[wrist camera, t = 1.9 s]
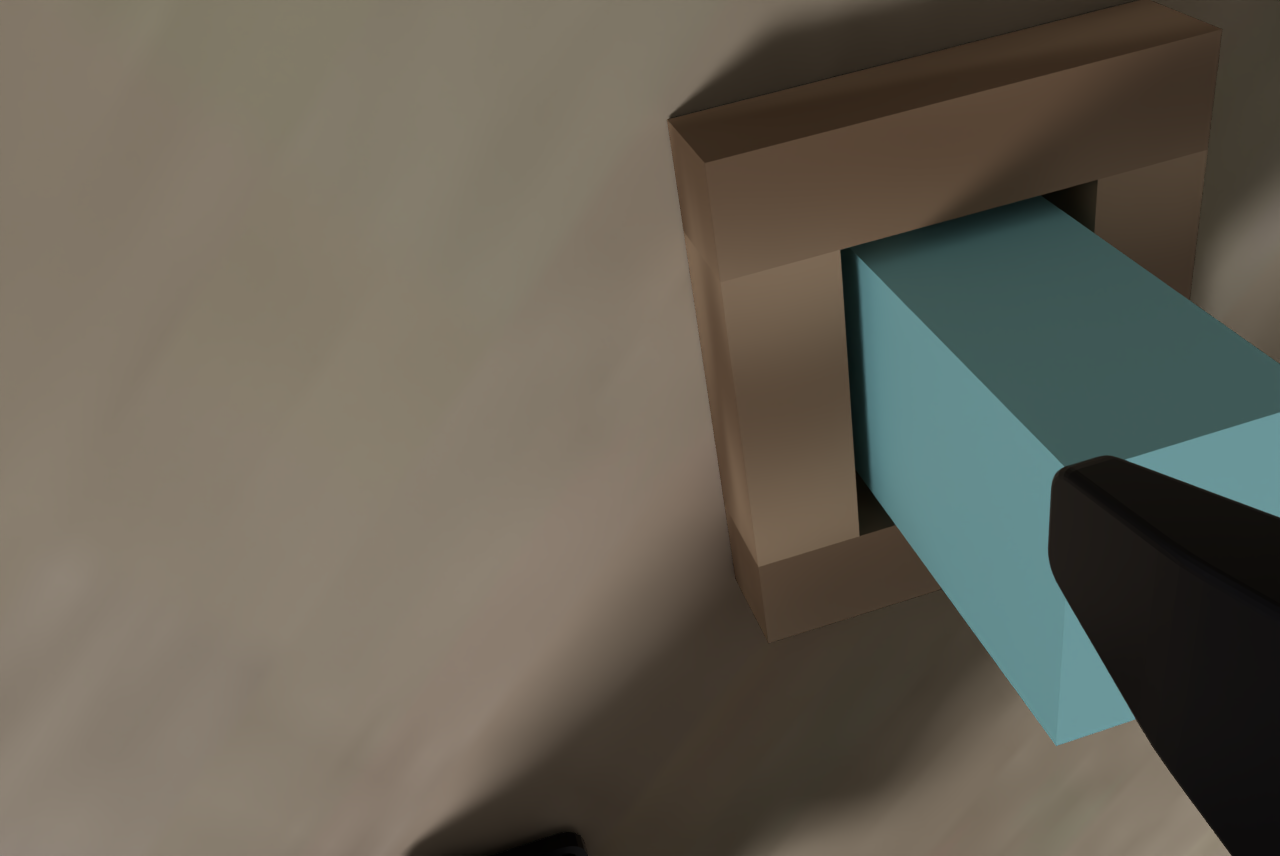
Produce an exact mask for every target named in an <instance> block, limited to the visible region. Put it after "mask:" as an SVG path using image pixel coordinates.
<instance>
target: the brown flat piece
mask: <svg viewBox="0 0 1280 856" xmlns="http://www.w3.org/2000/svg"><path fill="white" fill-rule="evenodd" d="M1221 36H1222V29H1220V28H1218V27H1215V26H1213V25H1210V24H1208V23H1205V22H1203V21H1200V20H1198V19H1196V18H1193V17H1191V16H1188V15H1186V14H1183V13H1181V12H1178V11H1176V10H1173V9H1171V8H1168V7H1166V6H1163V5H1161V4H1158V3H1156V2H1153V1H1151V0H1138V1H1134V2H1130V3H1126V4H1122V5H1118V6H1114V7H1110V8H1106V9H1102V10H1098V11H1094V12H1090V13H1086V14H1082V15H1078V16H1075V17H1071V18H1067V19H1063V20H1059V21H1055V22H1051V23H1047V24H1043V25H1039V26H1035V27H1031V28H1027V29H1023V30H1019V31H1015V32H1011V33H1007V34H1003V35H999V36H995V37H991V38H987V39H984V40H980V41H976V42H972V43H968V44H964V45H960V46H956V47H952V48H948V49H944V50H940V51H936V52H932V53H928V54H924V55H920V56H916V57H912V58H908V59H904V60H900V61H897V62H893V63H889V64H885V65H881V66H877V67H873V68H869V69H865V70H861V71H857V72H853V73H849V74H845V75H841V76H837V77H833V78H829V79H825V80H821V81H817V82H813V83H809V84H806V85H802V86H798V87H794V88H790V89H786V90H782V91H778V92H774V93H770V94H766V95H762V96H758V97H754V98H750V99H746V100H742V101H738V102H734V103H730V104H726V105H722V106H719V107H715V108H711V109H707V110H703V111H699V112H695V113H691V114H687V115H683V116H679V117H675V118H671V119H667V122H668V129H669V135H670V142H671V149H672V156H673V162H674V169H675V176H676V182H677V189H678V196H679V203H680V209H681V216H682V223H683V229H684V236H685V243H686V250H687V256H688V263H689V270H690V277H691V283H692V290H693V297H694V303H695V310H696V317H697V324H698V330H699V337H700V344H701V350H702V357H703V364H704V371H705V377H706V384H707V391H708V398H709V404H710V411H711V418H712V424H713V431H714V438H715V445H716V451H717V458H718V465H719V471H720V478H721V485H722V492H723V498H724V505H725V512H726V519H727V525H728V532H729V539H730V545H731V552H732V559H733V566H734V572H735V579H736V581H737V583H738V585H739V587H740V589H741V591H742V593H743V594H744V596H745V598H746V600H747V602H748V604H749V606H750V608H751V610H752V612H753V614H754V616H755V618H756V620H757V622H758V624H759V626H760V628H761V630H762V631H763V633H764V635H765V637H766V639H767V641H768V643H772V642H775V641H778V640H782V639H785V638H788V637H791V636H794V635H797V634H801V633H804V632H807V631H810V630H813V629H817V628H820V627H823V626H826V625H829V624H833V623H836V622H839V621H842V620H845V619H848V618H852V617H855V616H858V615H861V614H864V613H868V612H871V611H874V610H877V609H880V608H884V607H887V606H890V605H893V604H896V603H899V602H903V601H906V600H909V599H912V598H915V597H919V596H922V595H925V594H928V593H931V592H934V591H938V590H941V589H942V588H941V587H940V585H939V584H938V583H937V581H936V580H935V578H934V577H933V576H932V574H931V573H930V572H929V570H928V569H927V567H926V566H925V565H924V563H923V562H922V560H921V559H920V558H919V556H918V555H917V554H916V552H915V551H914V549H913V548H912V547H911V545H910V544H909V543H908V541H907V540H906V538H905V537H904V536H903V534H902V533H901V532H900V530H899V529H898V527H897V526H896V525H895V523H894V522H893V521H892V519H891V518H890V516H889V515H888V514H887V512H886V511H885V510H884V508H883V507H882V505H881V504H880V503H879V501H878V500H877V499H876V497H875V496H874V494H873V493H872V492H871V490H870V489H869V488H868V486H867V485H866V483H865V482H864V481H863V479H862V478H861V477H860V475H859V474H858V472H857V471H856V470H855V461H854V446H853V432H852V417H851V402H850V387H849V372H848V358H847V343H846V328H845V313H844V298H843V284H842V269H841V254H840V250H841V249H845V248H849V247H852V246H856V245H860V244H863V243H867V242H871V241H874V240H878V239H882V238H885V237H889V236H893V235H896V234H900V233H904V232H907V231H911V230H915V229H918V228H922V227H926V226H930V225H933V224H937V223H941V222H944V221H948V220H952V219H955V218H959V217H963V216H966V215H970V214H974V213H977V212H981V211H985V210H988V209H992V208H996V207H999V206H1003V205H1007V204H1010V203H1014V202H1018V201H1021V200H1025V199H1029V198H1032V197H1036V196H1040V195H1041V196H1042V197H1044V198H1045V199H1047V200H1048V201H1049V202H1051V203H1052V204H1054V205H1055V206H1056V207H1058V208H1059V209H1061V210H1062V211H1064V212H1065V213H1066V214H1068V215H1069V216H1071V217H1072V218H1073V219H1075V220H1076V221H1078V222H1079V223H1081V224H1082V225H1083V226H1085V227H1086V228H1088V229H1089V230H1090V231H1092V232H1093V233H1095V234H1096V235H1098V236H1099V237H1100V238H1102V239H1103V240H1105V241H1106V242H1107V243H1109V244H1110V245H1112V246H1113V247H1115V248H1116V249H1117V250H1119V251H1120V252H1122V253H1123V254H1124V255H1126V256H1127V257H1129V258H1130V259H1132V260H1133V261H1134V262H1136V263H1137V264H1139V265H1140V266H1141V267H1143V268H1144V269H1146V270H1147V271H1149V272H1150V273H1151V274H1153V275H1154V276H1156V277H1157V278H1158V279H1160V280H1161V281H1163V282H1164V283H1166V284H1167V285H1168V286H1170V287H1171V288H1173V289H1174V290H1175V291H1177V292H1178V293H1180V294H1181V295H1183V296H1184V297H1185V298H1187V299H1188V300H1190V294H1191V285H1192V277H1193V269H1194V261H1195V252H1196V244H1197V236H1198V227H1199V219H1200V211H1201V202H1202V194H1203V186H1204V177H1205V169H1206V161H1207V152H1208V144H1209V136H1210V127H1211V119H1212V111H1213V103H1214V94H1215V86H1216V78H1217V69H1218V61H1219V53H1220V44H1221Z"/></svg>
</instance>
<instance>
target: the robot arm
mask: <svg viewBox="0 0 1280 856" xmlns="http://www.w3.org/2000/svg"><path fill="white" fill-rule="evenodd" d="M1048 558H1049V564H1050V567H1051V571H1052V573H1053V576H1054V578H1055V581H1056V582H1057V584H1058V586H1059V588H1060V590H1061V591H1062V593H1063V595H1064V597H1065V598H1066V600H1067V602H1068V603H1069V605H1070V607H1071V609H1072V610H1073V612H1074V614H1075V616H1076V617H1077V619H1078V621H1079V622H1080V624H1081V626H1082V628H1083V629H1084V631H1085V633H1086V634H1087V636H1088V638H1089V640H1090V641H1091V643H1092V645H1093V647H1094V648H1095V650H1096V652H1097V653H1098V655H1099V657H1100V659H1101V660H1102V662H1103V664H1104V665H1105V667H1106V669H1107V671H1108V672H1109V674H1110V676H1111V678H1112V679H1113V681H1114V683H1115V684H1116V686H1117V688H1118V690H1119V691H1120V693H1121V695H1122V696H1123V698H1124V700H1125V702H1126V703H1127V705H1128V707H1129V709H1130V710H1131V712H1132V714H1133V715H1134V717H1135V719H1136V721H1137V722H1138V724H1139V726H1140V727H1141V729H1142V730H1143V732H1144V734H1145V735H1146V737H1147V738H1148V740H1149V742H1150V743H1151V745H1152V747H1153V748H1154V750H1155V751H1156V753H1157V754H1158V755H1159V757H1160V758H1161V760H1162V761H1163V763H1164V764H1165V765H1166V767H1167V768H1168V770H1169V771H1170V773H1171V774H1172V775H1173V777H1174V778H1175V780H1176V781H1177V782H1178V784H1179V785H1180V786H1181V788H1182V789H1183V790H1184V792H1185V793H1186V795H1187V796H1188V797H1189V799H1190V800H1191V801H1192V803H1193V804H1194V805H1195V807H1196V808H1197V809H1198V811H1199V812H1200V813H1201V815H1202V816H1203V818H1204V819H1205V820H1206V822H1207V823H1208V824H1209V826H1210V827H1211V828H1212V830H1213V831H1214V832H1215V834H1216V835H1217V837H1218V838H1219V839H1220V841H1221V842H1222V843H1223V845H1224V846H1225V847H1226V849H1227V850H1228V851H1229V853H1230V854H1231V855H1232V856H1280V517H1278V516H1275V515H1272V514H1270V513H1267V512H1264V511H1261V510H1259V509H1256V508H1253V507H1251V506H1248V505H1245V504H1243V503H1240V502H1237V501H1234V500H1232V499H1229V498H1226V497H1224V496H1221V495H1218V494H1216V493H1213V492H1210V491H1208V490H1205V489H1202V488H1199V487H1197V486H1194V485H1191V484H1189V483H1186V482H1183V481H1181V480H1178V479H1175V478H1173V477H1170V476H1167V475H1164V474H1162V473H1159V472H1156V471H1154V470H1151V469H1148V468H1146V467H1143V466H1140V465H1137V464H1135V463H1132V462H1129V461H1127V460H1124V459H1121V458H1118V457H1115V456H1109V455H1104V456H1098V457H1095V458H1091V459H1088V460H1085V461H1081V462H1078V463H1075V464H1071V465H1068V466H1065V467H1063V468H1061V469H1060V470H1058V471H1057V472H1056V474H1055V475H1054V477H1053V480H1052V485H1051V496H1050V516H1049V535H1048ZM491 856H588V853H587V850H586V847H585V843H584V840H583V839H582V837H581V836H580V835H578V834H576V833H573V832H564V833H559V834H556V835H553V836H549V837H546V838H543V839H540V840H537V841H534V842H531V843H528V844H525V845H522V846H519V847H516V848H513V849H510V850H507V851H504V852H501V853H498V854H494V855H491Z"/></svg>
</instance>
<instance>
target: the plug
mask: <svg viewBox="0 0 1280 856" xmlns="http://www.w3.org/2000/svg"><path fill="white" fill-rule="evenodd" d="M840 254H841V269H842V284H843V298H844V313H845V328H846V343H847V358H848V372H849V387H850V402H851V417H852V432H853V446H854V461H855V470H856V471H857V472H858V474H859V475H860V477H861V478H862V479H863V481H864V482H865V483H866V485H867V486H868V488H869V489H870V490H871V492H872V493H873V494H874V496H875V497H876V499H877V500H878V501H879V503H880V504H881V505H882V507H883V508H884V510H885V511H886V512H887V514H888V515H889V516H890V518H891V519H892V521H893V522H894V523H895V525H896V526H897V527H898V529H899V530H900V532H901V533H902V534H903V536H904V537H905V538H906V540H907V541H908V543H909V544H910V545H911V547H912V548H913V549H914V551H915V552H916V554H917V555H918V556H919V558H920V559H921V560H922V562H923V563H924V565H925V566H926V567H927V569H928V570H929V572H930V573H931V574H932V576H933V577H934V578H935V580H936V581H937V583H938V584H939V585H940V587H941V588H942V589H943V591H944V592H945V594H946V595H947V596H948V598H949V599H950V600H951V602H952V603H953V605H954V606H955V607H956V609H957V610H958V611H959V613H960V614H961V616H962V617H963V618H964V620H965V621H966V622H967V624H968V625H969V627H970V628H971V629H972V631H973V632H974V633H975V635H976V636H977V638H978V639H979V640H980V642H981V643H982V644H983V646H984V647H985V649H986V650H987V651H988V653H989V654H990V655H991V657H992V658H993V660H994V661H995V662H996V664H997V665H998V667H999V668H1000V669H1001V671H1002V672H1003V673H1004V675H1005V676H1006V678H1007V679H1008V680H1009V682H1010V683H1011V684H1012V686H1013V687H1014V689H1015V690H1016V691H1017V693H1018V694H1019V695H1020V697H1021V698H1022V700H1023V701H1024V702H1025V704H1026V705H1027V706H1028V708H1029V709H1030V711H1031V712H1032V713H1033V715H1034V716H1035V717H1036V719H1037V720H1038V722H1039V723H1040V724H1041V726H1042V727H1043V728H1044V730H1045V731H1046V733H1047V734H1048V735H1049V737H1050V738H1051V739H1052V741H1053V742H1054V744H1055V745H1056V746H1057V745H1060V744H1063V743H1066V742H1069V741H1072V740H1075V739H1078V738H1081V737H1084V736H1087V735H1090V734H1093V733H1096V732H1099V731H1102V730H1105V729H1108V728H1111V727H1114V726H1117V725H1120V724H1123V723H1126V722H1129V721H1132V720H1135V717H1134V715H1133V714H1132V712H1131V710H1130V709H1129V707H1128V705H1127V703H1126V702H1125V700H1124V698H1123V696H1122V695H1121V693H1120V691H1119V690H1118V688H1117V686H1116V684H1115V683H1114V681H1113V679H1112V678H1111V676H1110V674H1109V672H1108V671H1107V669H1106V667H1105V665H1104V664H1103V662H1102V660H1101V659H1100V657H1099V655H1098V653H1097V652H1096V650H1095V648H1094V647H1093V645H1092V643H1091V641H1090V640H1089V638H1088V636H1087V634H1086V633H1085V631H1084V629H1083V628H1082V626H1081V624H1080V622H1079V621H1078V619H1077V617H1076V616H1075V614H1074V612H1073V610H1072V609H1071V607H1070V605H1069V603H1068V602H1067V600H1066V598H1065V597H1064V595H1063V593H1062V591H1061V590H1060V588H1059V586H1058V584H1057V582H1056V581H1055V578H1054V576H1053V573H1052V571H1051V567H1050V564H1049V558H1048V535H1049V516H1050V496H1051V485H1052V480H1053V477H1054V475H1055V474H1056V472H1057V471H1058V470H1060V469H1061V468H1063V467H1065V466H1068V465H1071V464H1075V463H1078V462H1081V461H1085V460H1088V459H1091V458H1095V457H1098V456H1104V455H1109V456H1115V457H1118V458H1121V459H1124V460H1127V461H1129V462H1132V463H1135V464H1137V465H1140V466H1143V467H1146V468H1148V469H1151V470H1154V471H1156V472H1159V473H1162V474H1164V475H1167V476H1170V477H1173V478H1175V479H1178V480H1181V481H1183V482H1186V483H1189V484H1191V485H1194V486H1197V487H1199V488H1202V489H1205V490H1208V491H1210V492H1213V493H1216V494H1218V495H1221V496H1224V497H1226V498H1229V499H1232V500H1234V501H1237V502H1240V503H1243V504H1245V505H1248V506H1251V507H1253V508H1256V509H1259V510H1261V511H1264V512H1267V513H1270V514H1272V515H1275V516H1278V517H1280V364H1279V363H1277V362H1276V361H1275V360H1273V359H1272V358H1270V357H1269V356H1268V355H1266V354H1265V353H1263V352H1262V351H1260V350H1259V349H1258V348H1256V347H1255V346H1253V345H1252V344H1251V343H1249V342H1248V341H1246V340H1245V339H1243V338H1242V337H1241V336H1239V335H1238V334H1236V333H1235V332H1234V331H1232V330H1231V329H1229V328H1228V327H1226V326H1225V325H1224V324H1222V323H1221V322H1219V321H1218V320H1217V319H1215V318H1214V317H1212V316H1211V315H1209V314H1208V313H1207V312H1205V311H1204V310H1202V309H1201V308H1200V307H1198V306H1197V305H1195V304H1194V303H1192V302H1191V301H1190V300H1188V299H1187V298H1185V297H1184V296H1183V295H1181V294H1180V293H1178V292H1177V291H1175V290H1174V289H1173V288H1171V287H1170V286H1168V285H1167V284H1166V283H1164V282H1163V281H1161V280H1160V279H1158V278H1157V277H1156V276H1154V275H1153V274H1151V273H1150V272H1149V271H1147V270H1146V269H1144V268H1143V267H1141V266H1140V265H1139V264H1137V263H1136V262H1134V261H1133V260H1132V259H1130V258H1129V257H1127V256H1126V255H1124V254H1123V253H1122V252H1120V251H1119V250H1117V249H1116V248H1115V247H1113V246H1112V245H1110V244H1109V243H1107V242H1106V241H1105V240H1103V239H1102V238H1100V237H1099V236H1098V235H1096V234H1095V233H1093V232H1092V231H1090V230H1089V229H1088V228H1086V227H1085V226H1083V225H1082V224H1081V223H1079V222H1078V221H1076V220H1075V219H1073V218H1072V217H1071V216H1069V215H1068V214H1066V213H1065V212H1064V211H1062V210H1061V209H1059V208H1058V207H1056V206H1055V205H1054V204H1052V203H1051V202H1049V201H1048V200H1047V199H1045V198H1044V197H1042V196H1041V195H1040V196H1036V197H1032V198H1029V199H1025V200H1021V201H1018V202H1014V203H1010V204H1007V205H1003V206H999V207H996V208H992V209H988V210H985V211H981V212H977V213H974V214H970V215H966V216H963V217H959V218H955V219H952V220H948V221H944V222H941V223H937V224H933V225H930V226H926V227H922V228H918V229H915V230H911V231H907V232H904V233H900V234H896V235H893V236H889V237H885V238H882V239H878V240H874V241H871V242H867V243H863V244H860V245H856V246H852V247H849V248H845V249H841V250H840Z"/></svg>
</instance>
